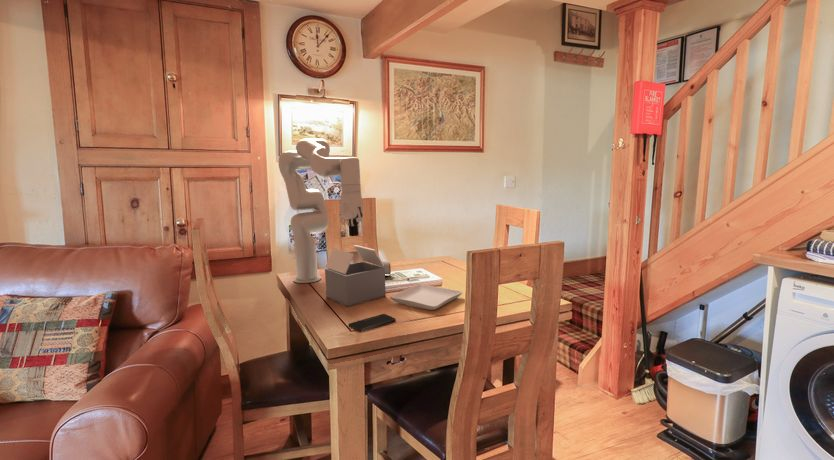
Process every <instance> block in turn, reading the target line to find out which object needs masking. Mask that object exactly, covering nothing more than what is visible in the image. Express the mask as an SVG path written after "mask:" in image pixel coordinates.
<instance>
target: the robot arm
mask: <svg viewBox="0 0 834 460" xmlns="http://www.w3.org/2000/svg"><path fill="white" fill-rule="evenodd" d="M330 152H331V148H330V145H329V143H328V141H327V140H325V139H323V138H302V139H301V140H299V141H297V143H296V145H295V150H286V151H283V152H282V153H280V154H279V157H278V169H279V172H280V174H281V176H282V178H283V181H284V183H285V189H286V191H287V192H286V193H287V198H288V201H289V205H290V207H291V209H292V210H294V211H306V210H307V211H306V212H300V213H296V214H294V215H293V216H292V217H291V218H290V226H291V231H292V236H293V242H294V256H295V257H294V258H295V273H296V276H294V277H293V280H292V281H293V282H295V283H297V284H310V283H315V282H318V281H321V280H322V276H321V275H320V274H318V261H317V260H318V259H317V245H316V240H315V238H314V237H313V236H312V233H316V232H322V231H325V230H327V229H328V227H329V225H330V224H329V223H330V221H329V216H328V212H327V207H326V206H327V205H326V201H325V197H324V195H323V193H322V192H321V191H320V190H319V189H316V188H307V187H306V184H305V180H304V177H302V175H301V174H300V173H299V172H298V171H297V170H312V172H314V173H315V174H317V175H318V176H321V177H325V178H329V177H330V178H331V177H332V178H333V177H340V190H341V193H340V207H339V208H340V217H341V218H343V219H344V220H345V221H346V222H347V226H348V236H349V237H357V236H359V223H360V222H362V218H363V217H364V205H363V197H362V194H361V193H362V189H361V187H362V186H361V171H360V170H361V168H360V159H359V158H358V157H356V156H348V157H346V156H345V157H342V156H340V157H335V156H334V157H330ZM309 210H311V211H309Z"/></svg>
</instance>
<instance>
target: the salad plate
mask: <svg viewBox="0 0 834 460" xmlns="http://www.w3.org/2000/svg"><path fill="white" fill-rule="evenodd" d="M462 294H463V291H460V290H455V289H451V288H445V287H444V288H443V287H438V286H434V285H433V286H432V285H426V284H417V285H414V286H411V287H409V288H406V289H404V290H402V291H399V292H397V293H395V294H392V295H390V296H389V299H390V300H392V301H393V302H395V303H398V304H401V305H404V306H408V307H409V306H410V307H414V308H418V309H422V310H430V311H434V310H437V309H439V308H440V307H443V306H444V305H446V304H448V303H449V302H451V301H453V300H455V299H457V298H459V297H460V296H461V295H462Z"/></svg>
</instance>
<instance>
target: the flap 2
mask: <svg viewBox="0 0 834 460" xmlns="http://www.w3.org/2000/svg"><path fill="white" fill-rule="evenodd" d="M353 247H354V249H355V250H356V252H357V254H358V255H359V257H360V258H361V260H362V261H363V262H366V263H370V264H377V265H380V266H384V264H383V263H382V262H383V261H382V259H381V257H380V256H379V254H378V252H377V250H376V249H374V248H370V247H365V246H361V245H358V244H357V245H356V244H353Z"/></svg>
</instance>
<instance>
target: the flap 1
mask: <svg viewBox="0 0 834 460" xmlns="http://www.w3.org/2000/svg"><path fill="white" fill-rule="evenodd" d="M353 257H354V253H352V252H348V251H345V250H341V249H337V248H332V250H331V252H330V255H329V257H328V259H327V261H326V264H325V266H324V267H325V269H327V268H329V269H331V270H334V271H337V272H340V273H343V274H346V272H347V270H348V267H349V265H350V264H351V262H352V259H353Z"/></svg>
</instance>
